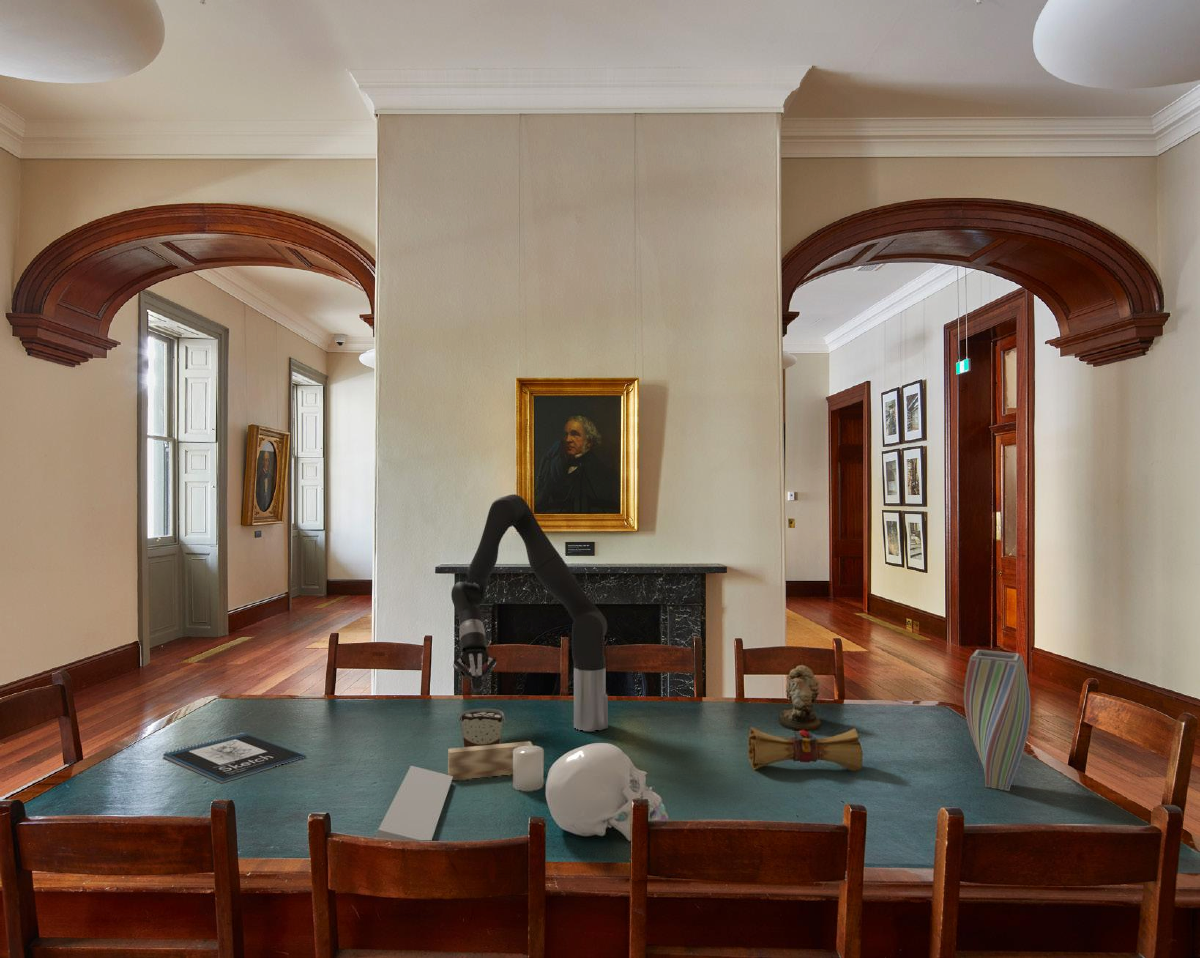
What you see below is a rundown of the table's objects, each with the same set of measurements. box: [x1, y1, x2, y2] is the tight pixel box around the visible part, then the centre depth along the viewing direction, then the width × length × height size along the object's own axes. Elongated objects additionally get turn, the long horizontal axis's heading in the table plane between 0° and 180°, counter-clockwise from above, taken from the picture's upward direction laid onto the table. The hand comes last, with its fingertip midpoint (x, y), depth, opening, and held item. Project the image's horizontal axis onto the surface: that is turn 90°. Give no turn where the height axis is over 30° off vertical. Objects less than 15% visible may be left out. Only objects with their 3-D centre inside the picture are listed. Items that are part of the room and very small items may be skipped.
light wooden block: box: [447, 740, 534, 781], centre depth 180 cm, size 20×5×6 cm, turn 107°
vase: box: [963, 649, 1032, 792], centre depth 174 cm, size 14×14×30 cm
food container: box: [458, 708, 506, 747], centre depth 198 cm, size 12×6×10 cm, turn 84°
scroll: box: [747, 726, 864, 772], centre depth 184 cm, size 27×10×10 cm, turn 88°
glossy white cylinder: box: [512, 745, 545, 792], centre depth 173 cm, size 7×7×8 cm
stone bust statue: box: [778, 664, 821, 732], centre depth 223 cm, size 18×12×17 cm, turn 175°
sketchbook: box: [162, 732, 307, 784], centre depth 191 cm, size 22×30×2 cm
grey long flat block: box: [375, 765, 453, 841], centre depth 157 cm, size 34×5×10 cm
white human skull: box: [545, 742, 670, 842], centre depth 149 cm, size 16×20×22 cm
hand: (477, 689), depth 211 cm, fingers closed
